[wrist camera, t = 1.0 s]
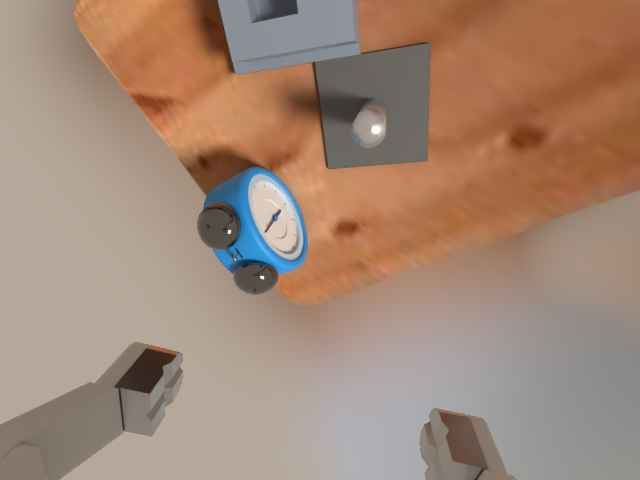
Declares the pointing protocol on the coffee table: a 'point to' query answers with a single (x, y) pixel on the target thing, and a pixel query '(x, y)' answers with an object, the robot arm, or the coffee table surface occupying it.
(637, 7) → the coffee table surface
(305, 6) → the grey block with hole
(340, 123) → the rubber mat
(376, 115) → the steel pin
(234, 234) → the alarm clock
